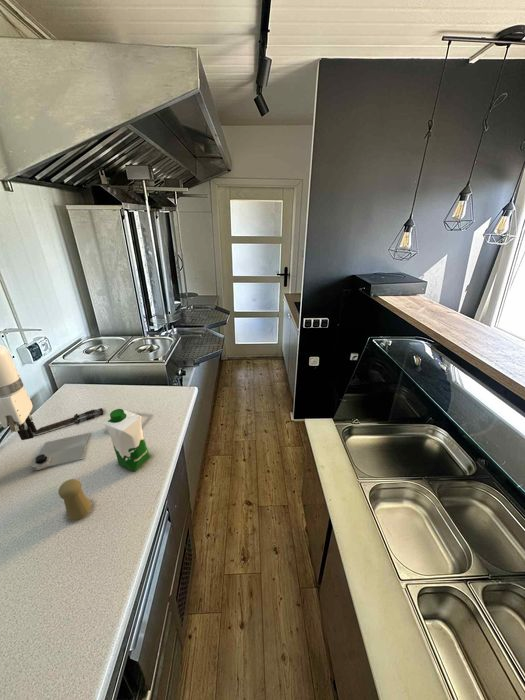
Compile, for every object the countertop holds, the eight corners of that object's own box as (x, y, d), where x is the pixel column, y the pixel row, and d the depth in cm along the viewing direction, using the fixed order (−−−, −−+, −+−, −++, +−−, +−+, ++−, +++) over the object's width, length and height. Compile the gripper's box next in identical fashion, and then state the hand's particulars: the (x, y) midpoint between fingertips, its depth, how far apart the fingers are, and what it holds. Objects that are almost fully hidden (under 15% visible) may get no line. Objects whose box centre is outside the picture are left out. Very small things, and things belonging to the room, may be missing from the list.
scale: (31, 473, 93) (28, 468, 92) (44, 444, 105) (42, 439, 104) (82, 461, 97) (80, 456, 96) (89, 434, 109) (87, 429, 108)
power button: (35, 464, 94) (34, 461, 93) (38, 458, 96) (36, 455, 95) (45, 462, 94) (43, 459, 94) (47, 456, 97) (45, 453, 96)
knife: (29, 439, 107) (28, 436, 107) (32, 428, 113) (31, 425, 112) (104, 417, 118) (103, 414, 118) (103, 409, 123) (102, 406, 123)
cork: (63, 514, 80) (50, 487, 76) (85, 498, 85) (74, 471, 80) (74, 525, 77) (61, 498, 72) (96, 508, 82) (85, 481, 77)
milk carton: (135, 448, 102) (122, 403, 94) (154, 456, 99) (143, 410, 90) (114, 466, 95) (99, 419, 86) (134, 475, 92) (120, 427, 83)
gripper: (2, 375, 88) (24, 422, 96) (-25, 405, 74) (4, 457, 83) (31, 371, 90) (50, 417, 98) (10, 399, 77) (35, 450, 85)
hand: (29, 435), depth 90 cm, fingers closed
